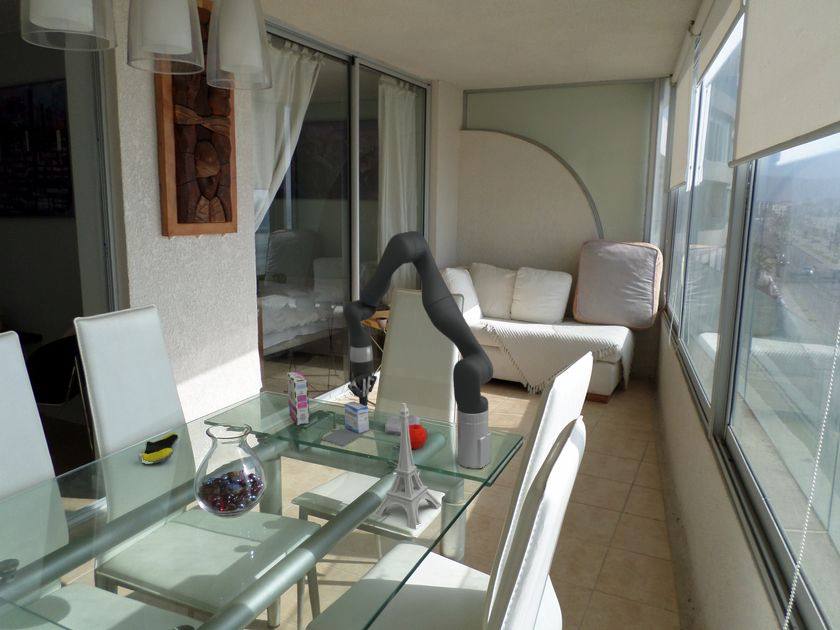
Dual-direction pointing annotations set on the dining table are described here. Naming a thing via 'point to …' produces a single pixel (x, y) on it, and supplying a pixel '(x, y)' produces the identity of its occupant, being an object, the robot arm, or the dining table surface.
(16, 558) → the dining table surface
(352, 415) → the medicine box
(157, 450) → the yellow black curved piece
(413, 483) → the eiffel tower
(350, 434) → the mat
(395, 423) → the stone block
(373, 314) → the robot arm
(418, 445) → the apple
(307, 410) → the candy bar box
